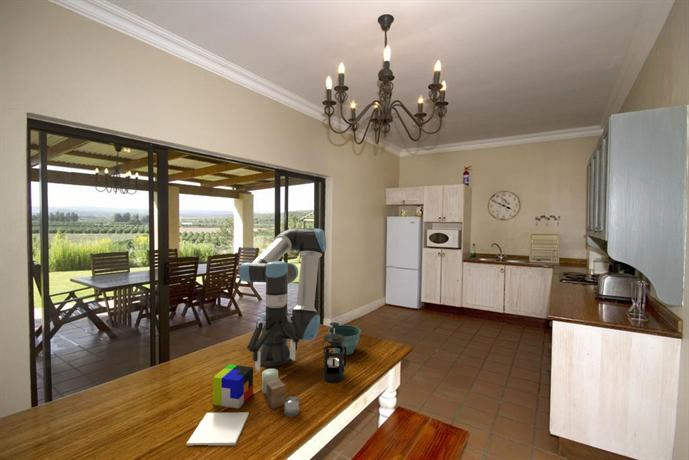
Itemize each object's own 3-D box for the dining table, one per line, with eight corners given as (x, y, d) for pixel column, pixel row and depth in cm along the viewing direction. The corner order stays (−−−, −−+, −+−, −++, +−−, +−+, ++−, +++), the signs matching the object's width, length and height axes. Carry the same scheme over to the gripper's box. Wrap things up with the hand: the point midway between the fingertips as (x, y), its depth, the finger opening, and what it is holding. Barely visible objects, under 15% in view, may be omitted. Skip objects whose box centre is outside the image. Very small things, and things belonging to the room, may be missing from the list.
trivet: (186, 445, 89) (186, 442, 89) (206, 415, 103) (206, 412, 103) (235, 445, 89) (235, 442, 89) (248, 414, 103) (248, 412, 103)
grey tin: (281, 411, 105) (281, 399, 105) (294, 405, 108) (294, 394, 108) (288, 418, 101) (288, 406, 101) (301, 412, 105) (301, 401, 104)
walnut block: (266, 402, 110) (266, 383, 110) (278, 397, 113) (279, 379, 113) (272, 409, 106) (272, 389, 106) (285, 403, 110) (285, 384, 109)
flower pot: (366, 349, 157) (366, 328, 156) (349, 361, 143) (349, 338, 143) (339, 342, 165) (340, 322, 165) (321, 353, 152) (322, 331, 151)
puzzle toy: (238, 408, 106) (238, 380, 106) (213, 404, 108) (213, 377, 108) (252, 392, 116) (252, 367, 116) (229, 389, 118) (229, 364, 118)
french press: (331, 386, 122) (331, 329, 121) (316, 377, 128) (317, 323, 128) (352, 376, 130) (352, 322, 129) (337, 368, 136) (338, 317, 136)
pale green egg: (259, 389, 119) (259, 371, 118) (273, 384, 122) (273, 367, 122) (266, 396, 114) (266, 378, 114) (280, 391, 118) (280, 373, 118)
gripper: (246, 313, 98) (245, 378, 98) (311, 302, 114) (310, 358, 114) (237, 308, 104) (237, 370, 104) (301, 298, 120) (300, 351, 120)
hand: (275, 364), depth 109 cm, fingers open, 13 cm apart
